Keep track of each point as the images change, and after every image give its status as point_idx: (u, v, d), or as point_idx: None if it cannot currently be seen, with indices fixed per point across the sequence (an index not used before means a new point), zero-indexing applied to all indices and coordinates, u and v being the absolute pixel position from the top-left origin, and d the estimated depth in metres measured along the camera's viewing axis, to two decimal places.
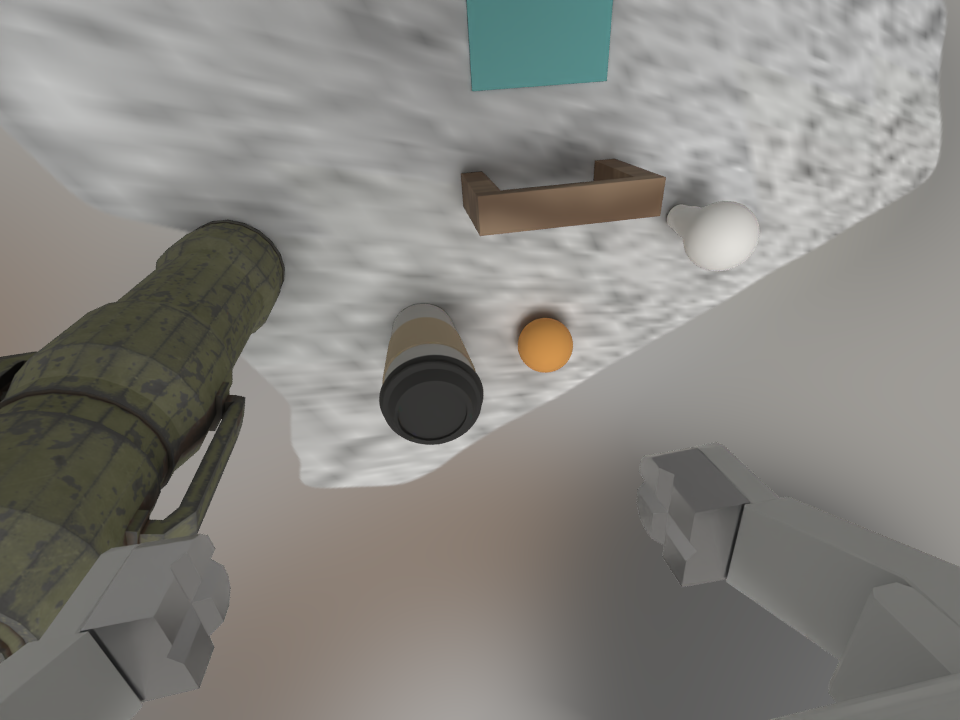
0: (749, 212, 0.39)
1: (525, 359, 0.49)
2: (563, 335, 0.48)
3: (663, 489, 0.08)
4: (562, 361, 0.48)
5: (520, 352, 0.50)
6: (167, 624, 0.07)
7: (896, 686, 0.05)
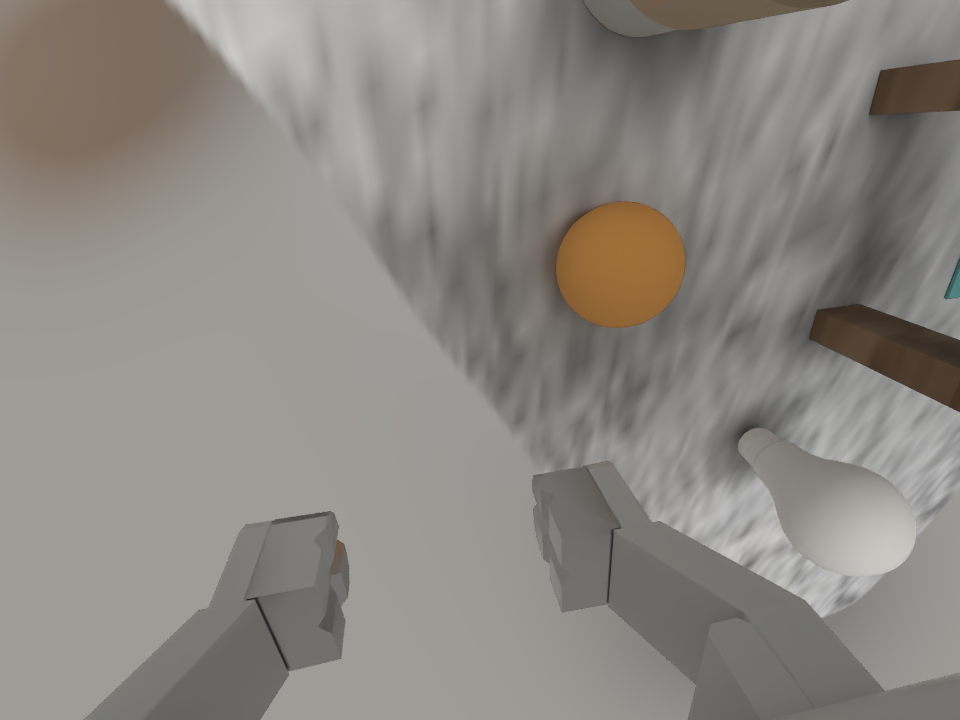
0: None
1: (624, 218, 0.20)
2: None
3: (546, 511, 0.08)
4: (629, 308, 0.20)
5: (623, 206, 0.20)
6: (321, 595, 0.07)
7: None
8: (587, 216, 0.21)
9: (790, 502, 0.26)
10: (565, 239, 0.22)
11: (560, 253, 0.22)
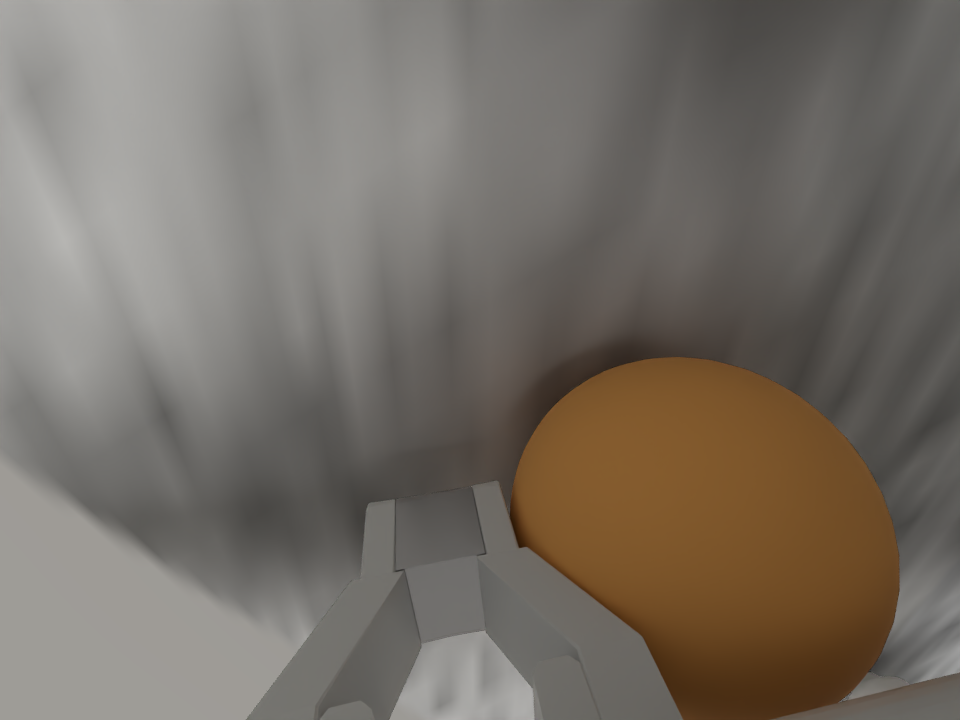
0: None
1: (748, 473, 0.06)
2: None
3: None
4: None
5: (714, 404, 0.06)
6: (460, 567, 0.07)
7: None
8: (601, 433, 0.07)
9: None
10: (536, 492, 0.07)
11: (525, 530, 0.07)
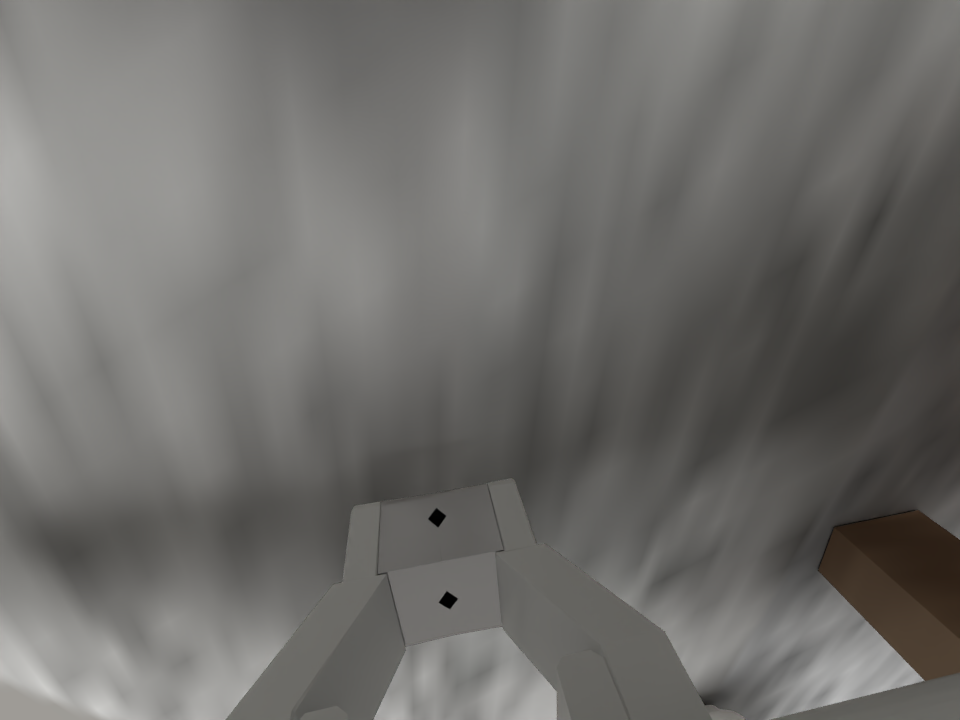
0: None
1: None
2: None
3: None
4: None
5: None
6: (443, 571, 0.07)
7: None
8: None
9: None
10: None
11: None
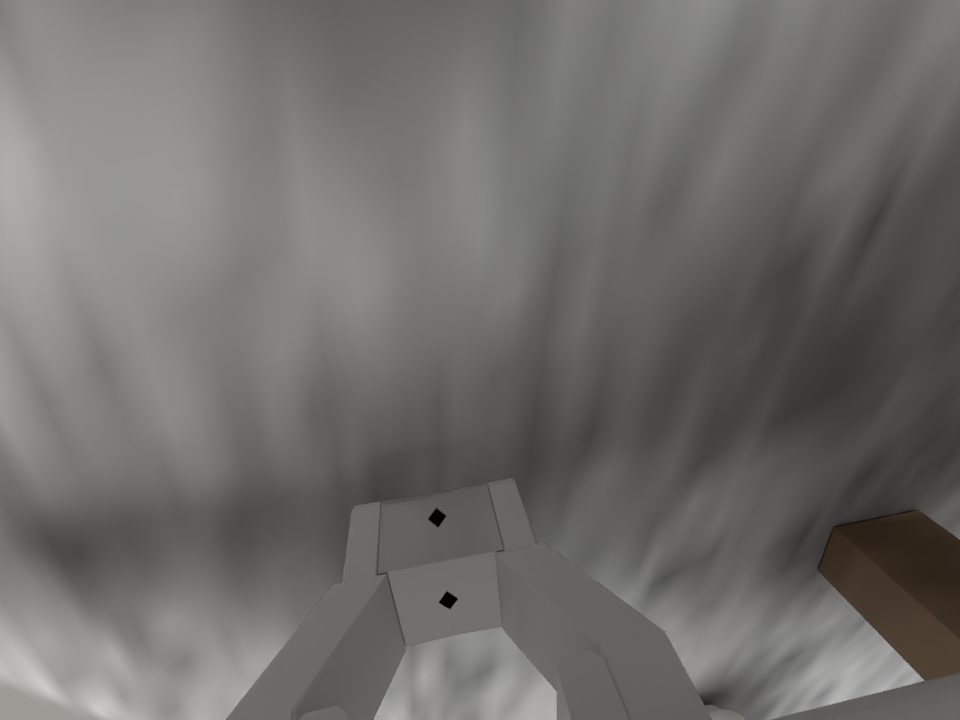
0: None
1: None
2: None
3: None
4: None
5: None
6: (443, 571, 0.07)
7: None
8: None
9: None
10: None
11: None
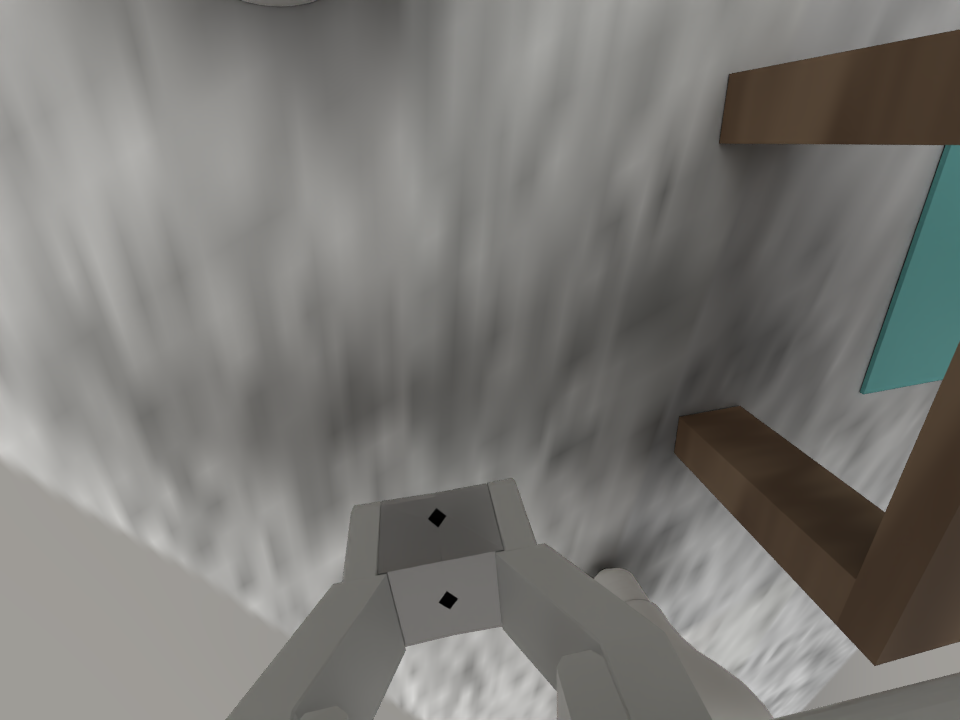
0: None
1: None
2: None
3: None
4: None
5: None
6: (443, 571, 0.07)
7: None
8: None
9: None
10: None
11: None
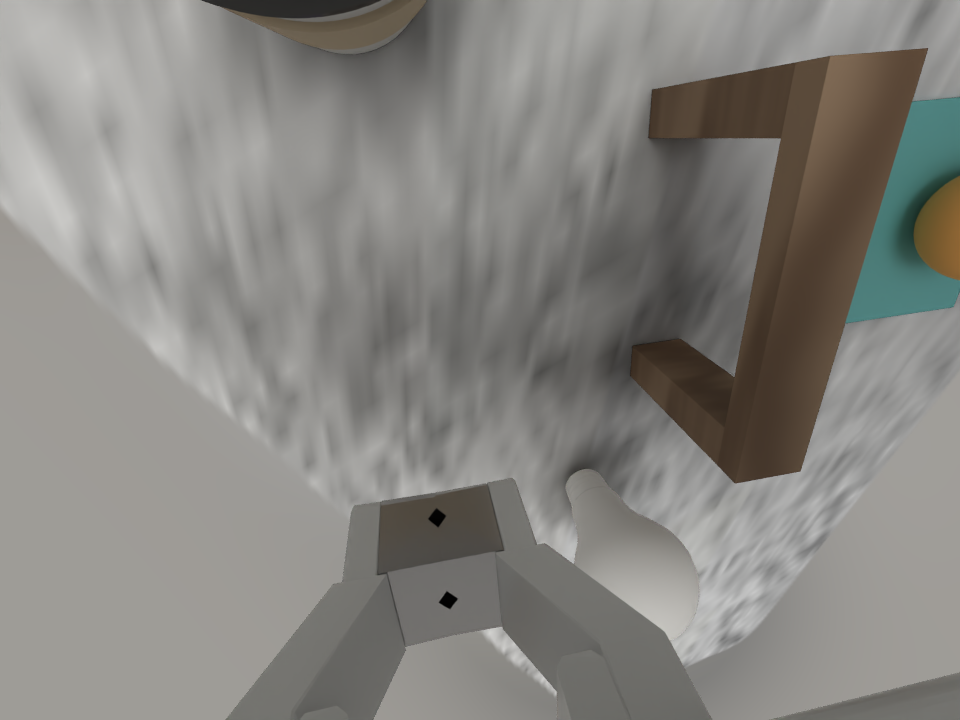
0: None
1: None
2: (943, 257, 0.24)
3: None
4: (915, 241, 0.26)
5: None
6: (443, 571, 0.07)
7: None
8: None
9: (577, 561, 0.23)
10: None
11: None
